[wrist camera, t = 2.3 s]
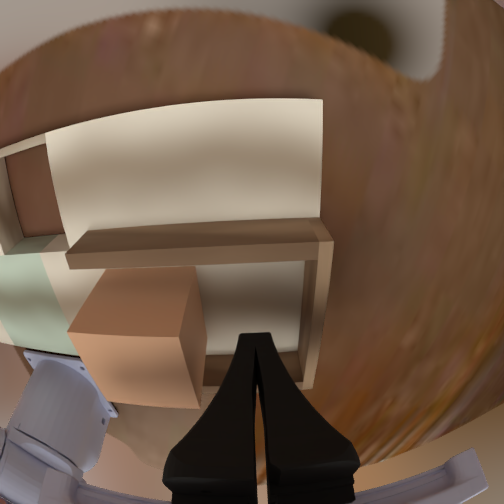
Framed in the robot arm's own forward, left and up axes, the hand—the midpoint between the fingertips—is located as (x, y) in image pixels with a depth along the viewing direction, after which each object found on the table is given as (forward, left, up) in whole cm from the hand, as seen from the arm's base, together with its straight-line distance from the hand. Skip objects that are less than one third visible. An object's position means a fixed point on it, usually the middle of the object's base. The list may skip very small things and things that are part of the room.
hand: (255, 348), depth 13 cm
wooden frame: (0, +3, -3) cm, 4 cm away
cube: (0, +5, -3) cm, 6 cm away
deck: (+3, +10, -6) cm, 12 cm away
